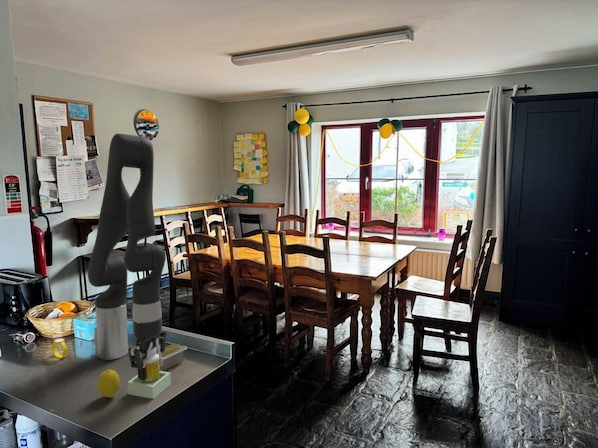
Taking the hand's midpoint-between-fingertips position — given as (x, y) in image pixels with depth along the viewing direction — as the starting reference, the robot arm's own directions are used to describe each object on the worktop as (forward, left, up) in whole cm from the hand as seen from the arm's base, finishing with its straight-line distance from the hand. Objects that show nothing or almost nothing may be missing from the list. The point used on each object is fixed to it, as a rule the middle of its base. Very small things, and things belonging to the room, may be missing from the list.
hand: (149, 374), depth 116 cm
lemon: (-8, -7, -5) cm, 11 cm away
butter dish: (-2, +15, -5) cm, 16 cm away
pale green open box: (0, 0, -4) cm, 4 cm away
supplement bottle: (0, 0, -2) cm, 2 cm away
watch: (-40, +8, -5) cm, 42 cm away
